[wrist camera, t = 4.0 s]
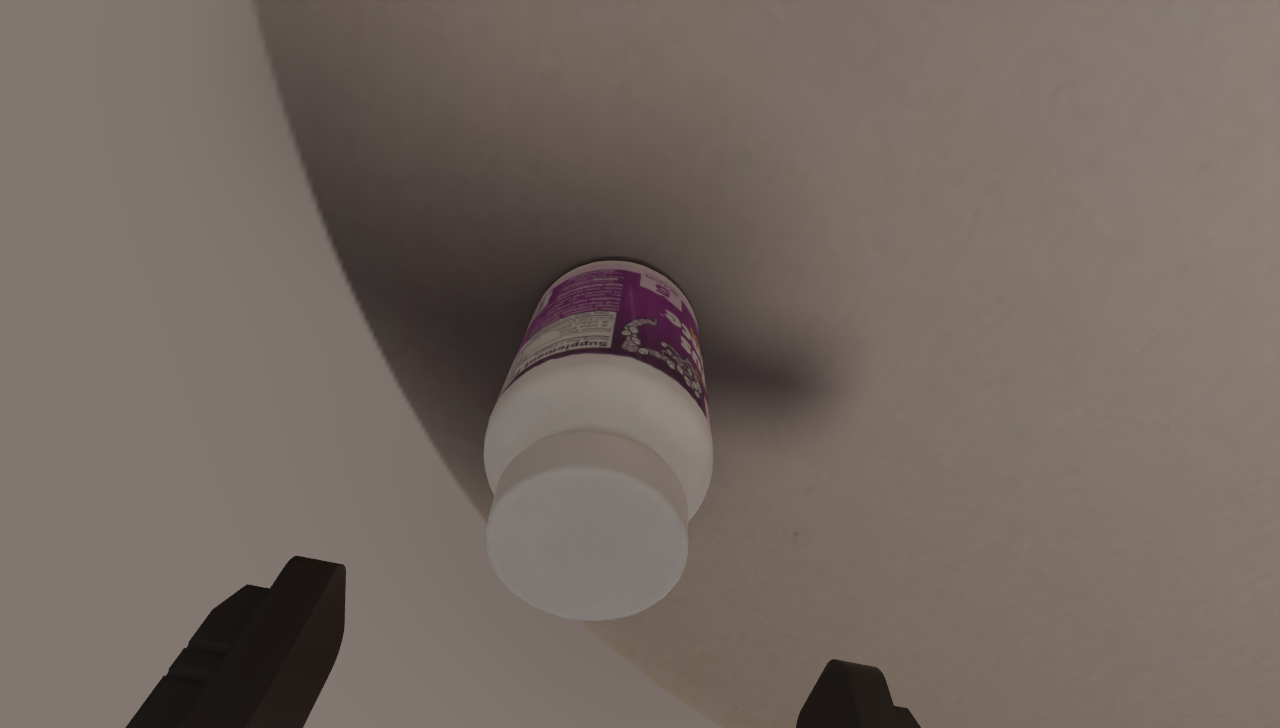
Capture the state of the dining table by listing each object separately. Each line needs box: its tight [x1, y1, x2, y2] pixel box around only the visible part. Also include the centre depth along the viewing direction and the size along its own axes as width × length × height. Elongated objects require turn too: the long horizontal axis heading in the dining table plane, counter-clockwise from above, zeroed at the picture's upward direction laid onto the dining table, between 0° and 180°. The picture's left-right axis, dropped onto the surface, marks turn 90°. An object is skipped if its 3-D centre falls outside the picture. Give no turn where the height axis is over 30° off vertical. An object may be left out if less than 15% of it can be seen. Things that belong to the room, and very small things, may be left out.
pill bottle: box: [484, 261, 713, 621], centre depth 17 cm, size 5×5×10 cm
